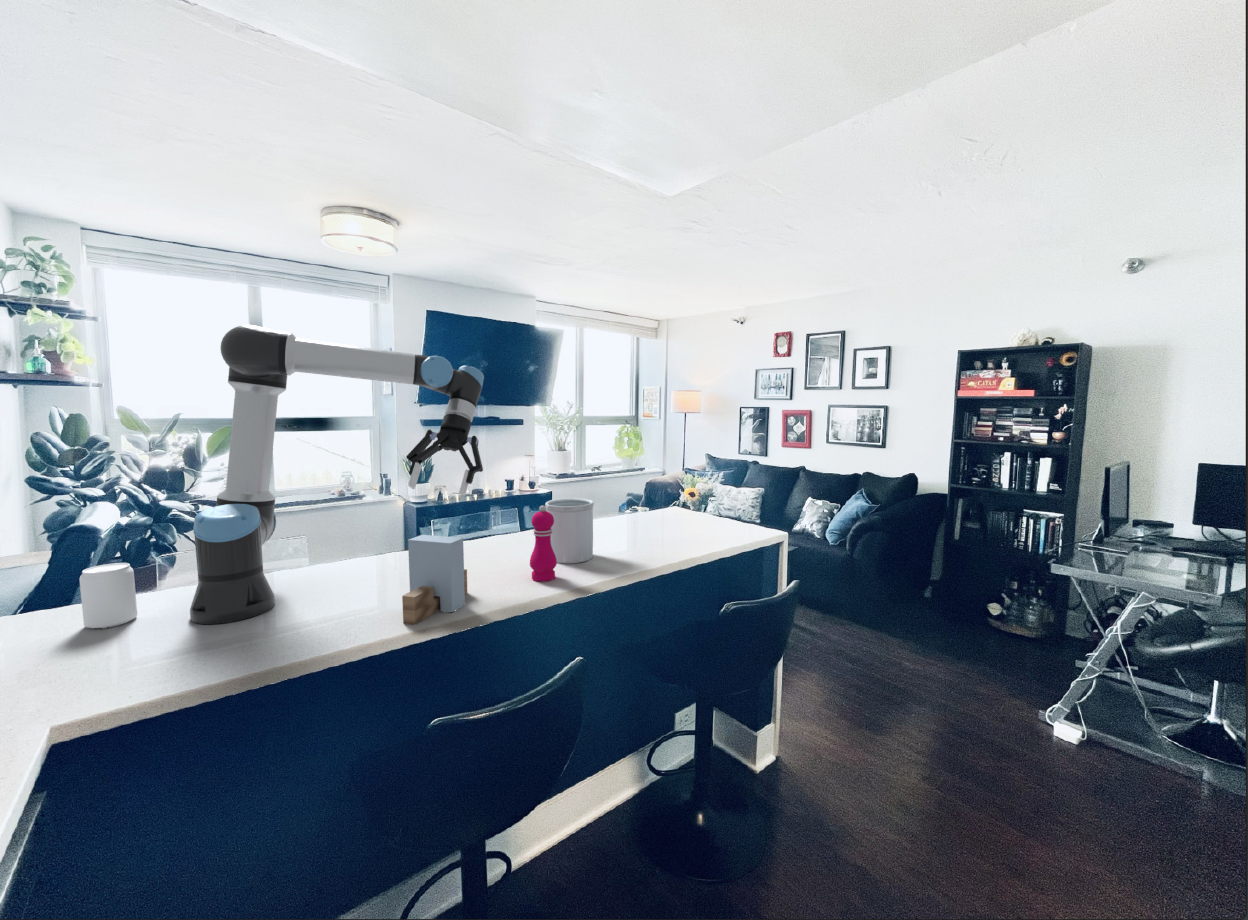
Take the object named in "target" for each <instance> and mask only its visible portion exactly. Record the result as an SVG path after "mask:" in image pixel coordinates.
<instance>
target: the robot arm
mask: <svg viewBox="0 0 1248 920" xmlns="http://www.w3.org/2000/svg"><path fill="white" fill-rule="evenodd" d="M220 353H221V357H222V359H223V361H225V364H226V365H227V366H228V376H227V377H228V378H227V383H228V384H229V385H230V386H231V387H232V388H233V389H234V400H233V409H232V411H233V412H232V420H231V421H232V422H231V430H230V431H231V432H230V440H229V441H230V442H229V443H230V444H229V452H228V463H227V473H226V485H225V489H224V490H223V491H221V492H220V493H219V494H217V496H216V504H215V506H213V507H209V508H206V509H205V508H204V509H203V510H201V511H199V512H198V513H196V516H194V520H193V521H194V522H193V528H192V530H193V532H192V533H193V535H194V544H195V555H196V556H195V557H196V567H197V568H196V569H197V581H198V582H197V587H196V589H195V593H194V596H193V599H192V602H191V605H190V608H189V615H190V621H191V622H192V623H195V624H200V625H215V624H226V623H232V622H237V621H242V620H246V619H250V618H252V617H256V616H259V615H261V614H263V613H266V612H267V611H269V610H271V609H272V608H273V607H274V606H275V595H274V594H275V593H274V592H273V590H272V587H271V586H270V584H269V582H268V580H267V578H266V575H265V573H264V562H263V550H262V549H263V545H265V543H266V542H268V541H269V540H270V538H271V537H272V535H273V534H274V532H275V529H276V526H277V519H276V517H277V516H276V514H275V503H276V496H275V495H274V494H273V493H272V492H271V491H270V481H271V469H272V460H273V451H274V440H275V430H276V419H277V410H278V409H277V408H278V399H279V396H280V395H281V394H282V393H284V392H285V391H287V384H288V381H287V380H288V376H291V375H292V374H295V373H305V374H314V375H322V376H331V377H341V378H349V379H350V378H353V379H360V380H369V381H379V382H387V383H397V384H407V385H414V386H419V387H424V388H426V389H429V390H431V391H434V392H437V393H440V394H443V395H446V396H449V400H448V402H447V406H446V409H445V411H444V416H443V418H442V421H441V424H440V429H439V431H438V432H436V431H432V430H431V429H427V431H426V432H425V435H424V437H423V438H422V439H421V440H420V441H419V442H418V443H417V444H416V445H415V446H414V447H413V448H412V450H411V451H410V452H408V454H407V455H406V456H405V457H406V459H407V460H408V461H409V462H410V463H411V465H410V468H409V471H408V472H409V473H408V474H409V475H410V478H409V482H408V484H407V485H408V487H409V488H410V489H411V490H415V489H416V486H417V483H418V479H419V477H420V473H421V471H422V465H421V464H422V463H424V462H425V461H427V460H428V459H430V457H432V456H433V455H434V454H436V453H438V452H440V451H442V450H444V451H452V452H457V451H459V453H460V455H461V457H462V459H463V460H464V463H465V464H466V466H467V468H468V469H465V470H464V474H463V477H462V481H461V485H460V488H459V491H458V493H459V494H460V496H462V497H466V493H467V489H468V486H469V485H471V484H473V481H474V478H475V474H476V473H478V472H479V473H482V472H483V471H484V469H483V463H482V460H481V454H480V452H479V447H478V446H479V439H478V437H477V436H476V435H472V436H469V434H470V431H471V427H472V422H473V420H474V416H475V413H476V408H477V406H478V401H479V399H480V396H481V392H482V390H483V385H484V379H485V376H484V373H483V372H482V371H481V370H480V369H478V368H477V367H474V366H470V365H462V366H460V367H458V369H454V368H453V366H452V364H451V362H450V361H449V360H448V359H446V358H445V357H444V356H439V355H429V356H428V355H423V354H415V353H409V352H401V351H394V350H387V349H386V350H385V349H378V348H371V347H363V346H356V345H350V344H342V343H337V342H335V343H334V342H326V341H321V340H320V341H319V340H312V339H304V338H299V337H296V336H295V335H294V334H293V333H292V332H287V331H280V330H274V329H272V328H271V329H270V328H268V327H267V328H266V327H263V326H258V325H253V324H244V325H238V326H235V327H233V328H231V329H230V330H229V331H227V332H226V333H225V334H224V336H223V337H222V339H221V342H220ZM436 438H437V439H436ZM435 439H436V440H435ZM432 441H433V443H432ZM468 443H469V446H471V447H470V448H471V451H472V455H473V459H474V463H475V465H473V462H472V461H471V459H470V457H469V455H468V453H467V452H466V449H465V448H464V446H465V445H466V444H468ZM430 444H431V445H430Z"/></svg>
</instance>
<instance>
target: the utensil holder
mask: <svg viewBox="0 0 1248 920" xmlns="http://www.w3.org/2000/svg"><path fill="white" fill-rule="evenodd" d="M544 506H545V507H546V511H547V512H550V513H551V514H552V515H553V517H554V524H553V526H552V527H551V529H552V535H551V546H552V549H553V551H554V553H555V556H556V561H557V564H578V563H584V562H588V561H590V560H591V559H592V558H593V554H594V553H593V552H594V551H593V549H594V501H593V500H592V499H588V498H584V497H583V498H581V497H580V498H579V497H566V498H556V499H551V500H548V501H546V502H545V504H544Z"/></svg>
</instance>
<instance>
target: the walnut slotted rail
mask: <svg viewBox="0 0 1248 920" xmlns="http://www.w3.org/2000/svg"><path fill="white" fill-rule="evenodd" d="M464 590H465V595H467V594H468V569H466V568H464ZM401 598H402V619H403V620H402V621H403V622H402V623H403V624H409V625H415V624H416V625H417V624H418V622H419V623H420V622H423V621H424V620H426V619H427V618H428V616H429V617H430V616H432V615H433V613H434V612H435V613H437V612H438V611H441V604H440V597H439V596H434V591H433V587H428V586H421V587H419V588H417V589H415V590H413V591H411V592H410V591H409V592H407V593H404V594H403V595H402V597H401ZM437 610H438V611H437ZM436 611H437V612H436ZM435 613H434V614H435ZM426 617H427V618H426ZM423 619H424V620H423Z"/></svg>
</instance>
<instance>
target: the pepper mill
mask: <svg viewBox="0 0 1248 920" xmlns="http://www.w3.org/2000/svg"><path fill="white" fill-rule="evenodd" d="M553 524H554V517H553V515H552V514H551V513H550V512H547V511H546V507H545V505H540V506H539V511H537V512H535V513H534V514H533V515H532V517H531V525H532V527H533V536H535V537H534V539H535V541H534V543H535V544H534V548H533V549H532V550H533V551H532V552H531V554H530V559H529V567H530V568H531V569H532V570H533V571H531V579H533V580H532V581H534V582H538V581H546V582H551V581H553V580H555V578H556V571H555V567H556V566H557V565H558V563H557V561H556V556H555V553H554V551H553V549H552V546H551V535H552V529H551V527H552V526H553ZM552 579H553V580H552ZM550 580H551V581H550Z"/></svg>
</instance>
